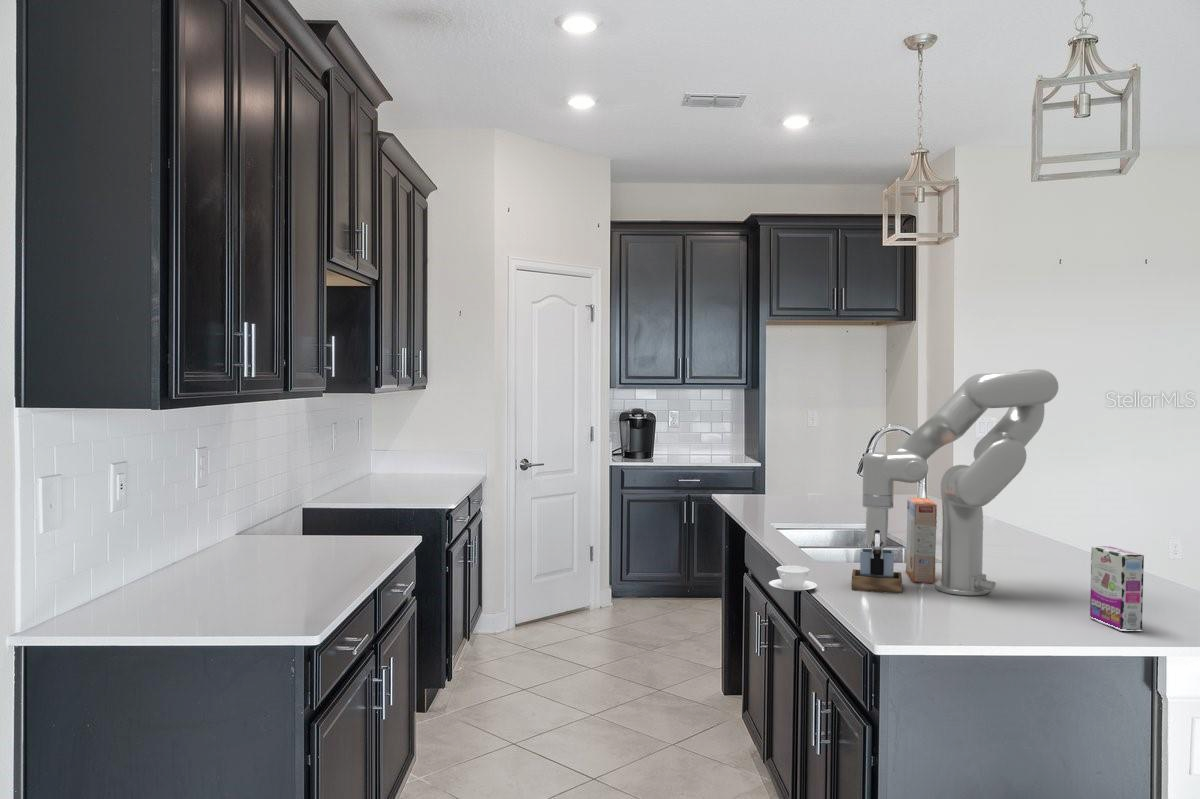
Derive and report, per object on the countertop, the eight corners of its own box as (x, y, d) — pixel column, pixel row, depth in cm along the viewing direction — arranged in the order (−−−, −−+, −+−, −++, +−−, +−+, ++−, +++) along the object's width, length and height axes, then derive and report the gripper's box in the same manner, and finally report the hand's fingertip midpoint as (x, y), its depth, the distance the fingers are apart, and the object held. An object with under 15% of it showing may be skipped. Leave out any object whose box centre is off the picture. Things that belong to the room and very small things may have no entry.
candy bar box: (1144, 632, 191) (1145, 555, 191) (1121, 632, 191) (1123, 555, 190) (1109, 618, 202) (1111, 545, 202) (1088, 618, 202) (1090, 545, 201)
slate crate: (893, 573, 232) (893, 550, 231) (893, 577, 226) (893, 554, 226) (860, 571, 234) (860, 548, 234) (860, 575, 229) (860, 552, 229)
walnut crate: (901, 585, 233) (901, 572, 233) (901, 593, 224) (901, 579, 224) (852, 582, 236) (852, 569, 236) (851, 590, 228) (851, 576, 228)
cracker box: (936, 584, 235) (937, 504, 235) (912, 582, 237) (913, 503, 236) (928, 572, 249) (929, 497, 249) (905, 571, 250) (906, 496, 250)
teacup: (762, 591, 226) (762, 570, 226) (776, 582, 237) (776, 562, 236) (810, 597, 220) (810, 575, 220) (822, 587, 231) (822, 566, 231)
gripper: (863, 496, 239) (862, 564, 239) (861, 504, 223) (860, 578, 223) (893, 497, 237) (892, 566, 237) (893, 506, 220) (892, 580, 221)
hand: (877, 571), depth 230 cm, fingers closed on slate crate, 5 cm apart
